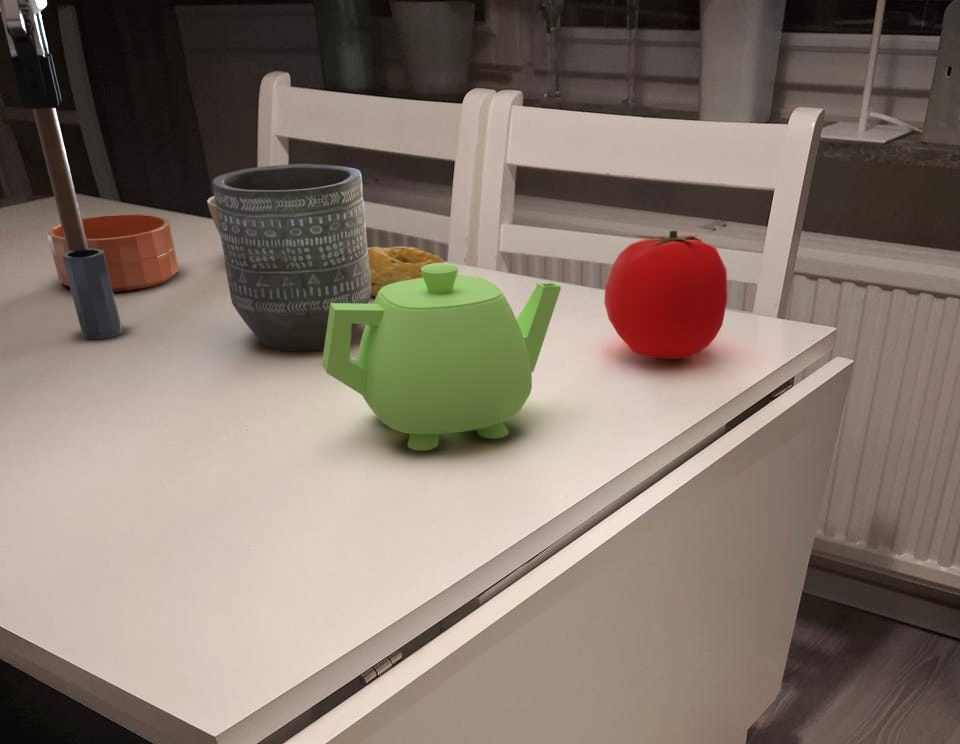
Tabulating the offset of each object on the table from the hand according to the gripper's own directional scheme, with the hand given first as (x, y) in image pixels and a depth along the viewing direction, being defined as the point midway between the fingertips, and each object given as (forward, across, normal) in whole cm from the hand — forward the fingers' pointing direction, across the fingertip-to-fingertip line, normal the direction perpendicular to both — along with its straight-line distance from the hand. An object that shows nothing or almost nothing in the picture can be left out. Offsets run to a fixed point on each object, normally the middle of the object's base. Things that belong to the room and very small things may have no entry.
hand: (42, 104), depth 94 cm
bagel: (+21, -6, +35) cm, 41 cm away
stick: (+13, 0, 0) cm, 13 cm away
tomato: (+20, +24, +55) cm, 63 cm away
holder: (+21, 0, +1) cm, 21 cm away
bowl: (+21, -23, +2) cm, 31 cm away
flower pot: (+21, -28, +19) cm, 39 cm away
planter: (+21, +8, +22) cm, 31 cm away
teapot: (+21, +36, +31) cm, 52 cm away
